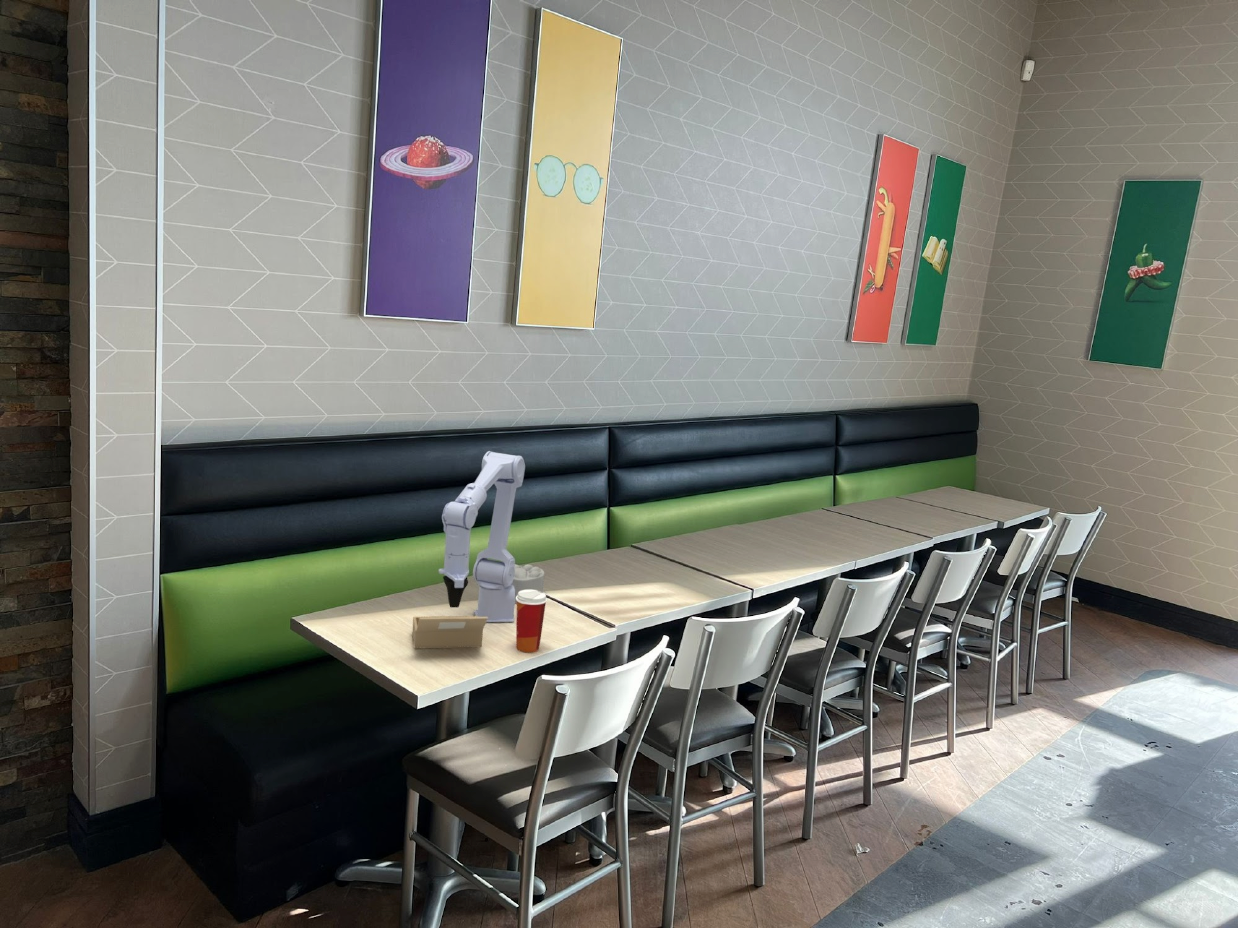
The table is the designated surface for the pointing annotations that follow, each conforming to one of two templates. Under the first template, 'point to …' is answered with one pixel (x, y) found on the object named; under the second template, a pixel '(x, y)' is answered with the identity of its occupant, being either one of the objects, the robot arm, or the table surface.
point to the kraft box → (446, 637)
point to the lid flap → (451, 624)
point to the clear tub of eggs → (528, 579)
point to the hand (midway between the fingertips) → (454, 606)
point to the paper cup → (529, 619)
